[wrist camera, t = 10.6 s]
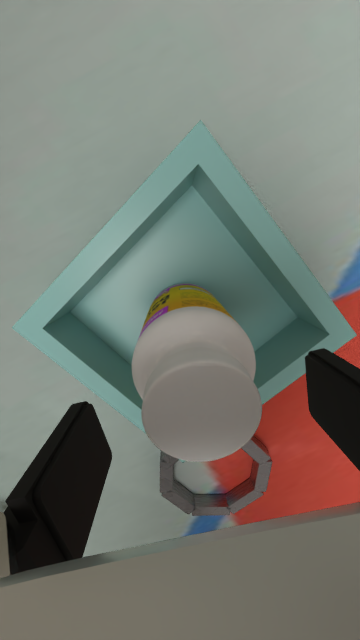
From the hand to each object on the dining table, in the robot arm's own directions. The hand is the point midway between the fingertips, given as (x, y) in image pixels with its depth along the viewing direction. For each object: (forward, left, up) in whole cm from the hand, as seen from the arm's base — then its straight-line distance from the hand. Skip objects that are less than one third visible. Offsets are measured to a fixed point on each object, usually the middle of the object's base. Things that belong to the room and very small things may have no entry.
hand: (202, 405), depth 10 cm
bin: (+1, 0, -13) cm, 13 cm away
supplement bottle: (0, 0, -12) cm, 12 cm away
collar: (-16, +11, -13) cm, 23 cm away
